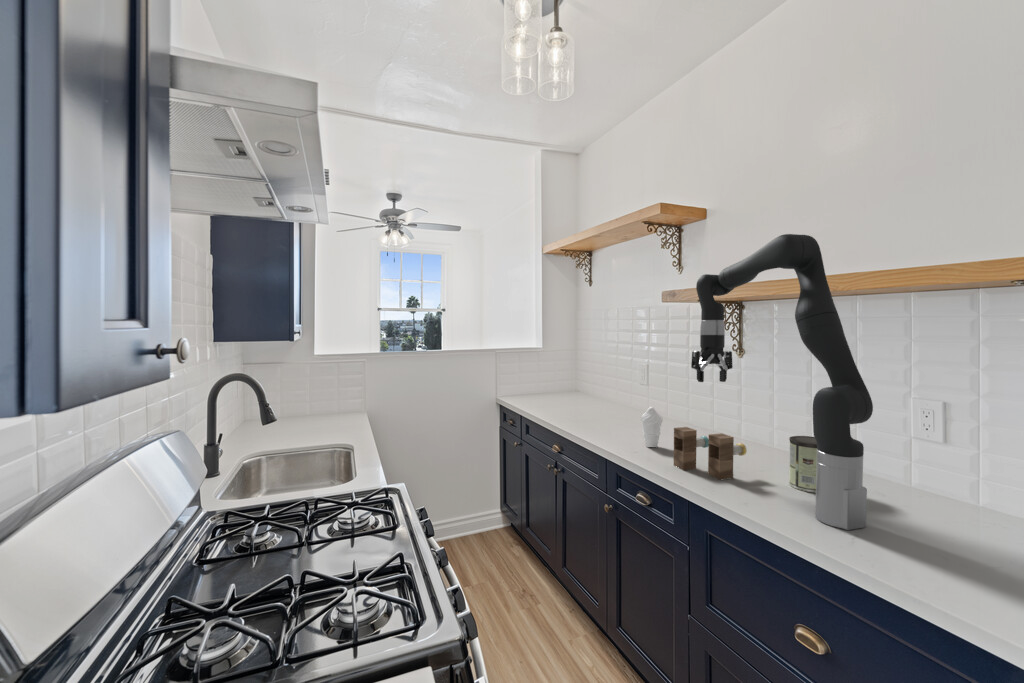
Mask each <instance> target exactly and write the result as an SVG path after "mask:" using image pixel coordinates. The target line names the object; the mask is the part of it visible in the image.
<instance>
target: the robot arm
mask: <svg viewBox="0 0 1024 683" xmlns="http://www.w3.org/2000/svg"><path fill="white" fill-rule="evenodd" d="M774 269H783V270H784V269H785V270H794V271H795V274H796V277H797V280H798V283H799V288H800V289H799V295H798V299H797V303H796V307H795V312H794V319H795V323H796V326H797V330H798V333H799V336H800V340H801V341H802V343H803V345H804V346H805V347H806V349H807V350H808V351H809V352H810V353H811V354H812V355H813V356H814V358H816V359H817V361H818V362H819V363H820V364H821V365H822V367H823V368H824V370H825V371H826V373H827V375H828V377H829V380H830V384H831V386H828V387H822V388H820V389H819V390H818V391H817V392H816V393H815V395H814V397H813V400H812V427H813V428H812V430H813V432H812V433H813V437H815V440H816V442H817V465H816V493H815V511H814V512H815V513H814V514H815V518H816V519H817V520H818V521H819V522H821V523H824V524H826V525H827V526H831V527H834V528H839V529H842V530H844V531H851V530H852V531H853V530H857V529H861V528H866V527H867V501H868V500H867V499H868V489H867V487H866V486H863V485H864V484H863V482H864V480H863V478H864V475H863V474H864V452H865V451H864V448H865V447H864V443H863V442H861V441H860V440H857V439H855V438H853V437H852V435H851V434H852V433H851V425H856V424H862V423H865V422H868V420H870V419H871V417H872V415H873V412H874V405H873V404H874V403H873V400H872V398H871V395H870V392H869V390H868V388H867V386H866V384H865V381H864V379H863V377H862V376H861V374H860V372H859V368H858V367H857V365H856V362H855V360H854V357H853V354H852V351H851V348H850V346H849V343H848V341H847V337H846V335H845V334H846V333H845V332H844V328H843V325H842V321H841V318H840V315H839V312H838V310H837V308H836V305H835V302H834V299H833V296H832V293H831V290H830V286H829V283H828V279H827V274H826V271H825V270H826V269H825V266H824V261H823V256H822V251H821V248H820V245H819V243H818V241H817V240H816V239H815V238H814V237H813V236H811V235H807V234H794V233H786V234H781V235H779V236H777V237H775V238H774V239H772V240H771V241H769V242H767V243H766V244H765V245H763V246H762V247H760V249H758V250H756V251H754V252H753V253H752V254H751V255H749V256H747V257H745V258H744V259H742V260H740V261H737V262H735V263H734V264H731V265H729V266H727V267H725V268H723V269H722V270H721V271H720V272H719V274H707V273H706V274H701V275H700V277H698V279H697V281H696V288H695V289H696V290H695V291H696V294H697V297H698V301H699V304H700V307H701V308H700V310H701V312H700V313H701V315H700V316H701V321H700V328H699V330H700V333H699V336H700V337H699V339H700V340H699V346H700V349H701V350H700V351H699V350H693V351H692V352H691V369H693V370H695V371H696V380H697V382H699V383H704V381H705V377H704V376H705V371H704V370H705V369H706V367H707V366H708V365H716V366H718V368H719V382H721V383H726V381H727V372H728V370H732V369H733V352H732V351H730V350H725V351H724V348H725V343H726V342H725V338H726V337H725V336H726V335H725V334H726V333H725V332H726V331H725V330H726V328H725V306H724V304H723V303H722V302H717V301H716V300H715V297H714V296H716V297H722V296H725V295H728V294H729V293H730V292H731V291H733V290H735V288H738V287H741V286H743V285H746V284H748V283H750V282H752V281H753V280H754V279H755V278H757V276H758V275H759V274H760V273H762V272H765V271H769V270H774Z"/></svg>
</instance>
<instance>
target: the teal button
mask: <svg viewBox="0 0 1024 683" xmlns="http://www.w3.org/2000/svg"><path fill="white" fill-rule="evenodd" d="M708 446H709V437H707V436H706V435H705V436H704V435H702V436H700V437H696V448H703V449H704V448H708Z"/></svg>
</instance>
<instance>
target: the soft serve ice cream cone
mask: <svg viewBox="0 0 1024 683" xmlns="http://www.w3.org/2000/svg"><path fill="white" fill-rule="evenodd" d="M640 421H641V425H642V434H643V439H644V443H645V444H644V445H645V447H646V446H647V447H646V448H648V447H656V448H658V445H659V440H660V436H661V427H662V424H663V421H664V418H663V416H662V414H661V413H659V412H658V411H657V410H656V409H655V408H654V407H653V406H650V407H648V408H647V409H646V411H645V412H644V413H643V414H642V415H640Z"/></svg>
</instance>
